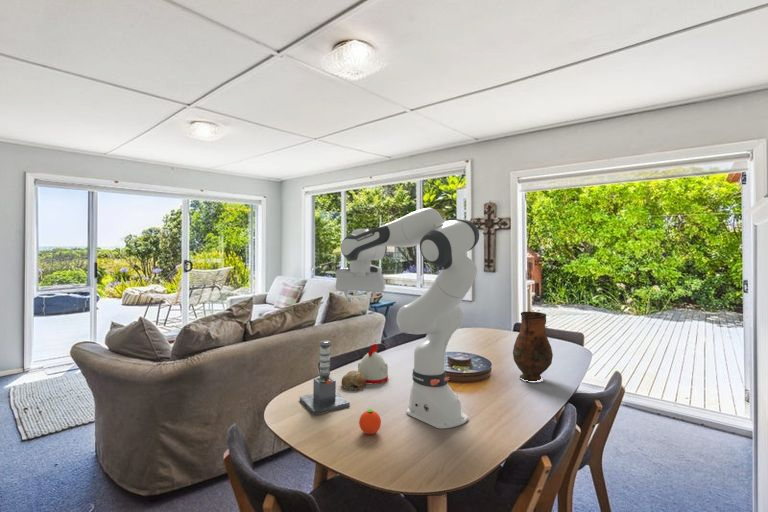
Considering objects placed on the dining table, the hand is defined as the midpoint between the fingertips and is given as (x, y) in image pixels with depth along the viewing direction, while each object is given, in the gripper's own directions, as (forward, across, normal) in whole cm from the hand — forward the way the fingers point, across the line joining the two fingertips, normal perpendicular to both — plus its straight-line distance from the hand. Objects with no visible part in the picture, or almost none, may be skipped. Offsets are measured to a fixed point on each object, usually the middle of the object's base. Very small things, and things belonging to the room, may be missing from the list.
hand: (360, 301), depth 157 cm
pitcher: (+36, +77, +23) cm, 88 cm away
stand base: (+36, -11, -15) cm, 41 cm away
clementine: (+38, +8, -34) cm, 52 cm away
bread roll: (+36, -3, +4) cm, 36 cm away
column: (+30, -11, -15) cm, 36 cm away
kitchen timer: (+36, +4, +14) cm, 38 cm away
